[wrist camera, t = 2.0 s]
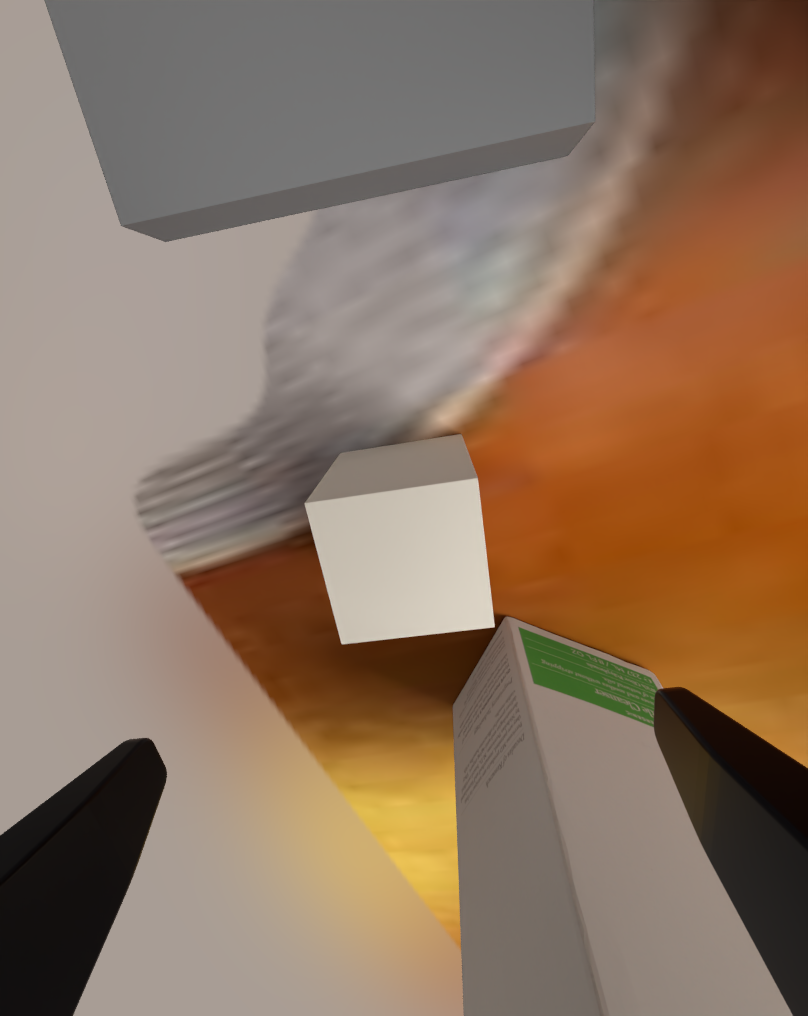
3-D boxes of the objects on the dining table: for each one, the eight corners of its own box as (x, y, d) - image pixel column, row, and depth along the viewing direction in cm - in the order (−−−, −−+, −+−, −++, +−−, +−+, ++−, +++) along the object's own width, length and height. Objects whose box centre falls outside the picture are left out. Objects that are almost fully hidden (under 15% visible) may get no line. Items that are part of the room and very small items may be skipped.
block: (461, 433, 18) (477, 478, 12) (475, 544, 20) (494, 627, 14) (340, 452, 18) (304, 503, 13) (364, 559, 20) (341, 644, 15)
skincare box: (654, 668, 22) (1119, 1345, 7) (583, 758, 24) (828, 1408, 9) (497, 609, 21) (668, 1241, 6) (440, 709, 23) (468, 1337, 9)
